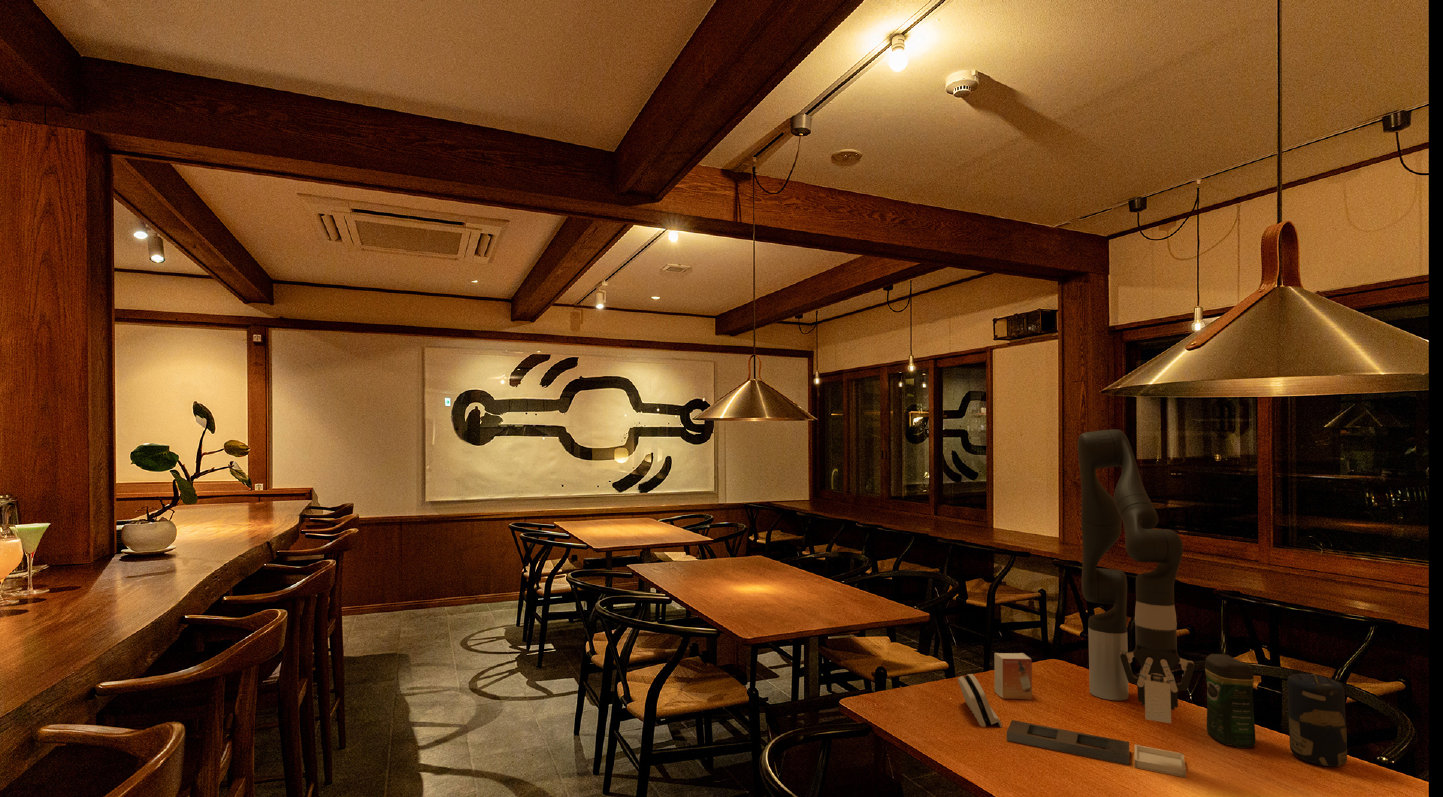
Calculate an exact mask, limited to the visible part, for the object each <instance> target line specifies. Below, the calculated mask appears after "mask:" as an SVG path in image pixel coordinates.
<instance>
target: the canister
mask: <svg viewBox="0 0 1443 797" xmlns="http://www.w3.org/2000/svg"><path fill="white" fill-rule="evenodd" d="M1286 681H1287V704H1288V705H1287V707H1288V731H1289V748H1290V752H1291V753H1292V754H1293V755H1294V756H1295V757H1296V758H1299V759H1300V760H1303V761H1305V762H1307V763H1312V764H1315V765H1319V766H1320V765H1321V766H1325V767H1326V766H1327V767H1340V766H1345V765H1346V763H1347V762H1348V747H1347V746H1348V738H1347V736H1348V734H1347V722H1346V721H1347V720H1346V719H1347V718H1346V701H1345V698H1346V697H1345V687H1344V686H1343V684H1342V683H1340V682H1339V681H1337V680H1334V679H1332V678H1329V677H1325V676H1321V675H1317V674H1315V673H1311V674H1309V673H1293V674H1291V675H1288V677H1287V680H1286Z"/></svg>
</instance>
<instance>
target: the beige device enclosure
mask: <svg viewBox="0 0 1443 797" xmlns="http://www.w3.org/2000/svg"><path fill="white" fill-rule="evenodd" d="M957 681H958V685H959V688H960V690H961V693H962V696H963V698H964V702H965V704H966V705H967V707H968V708H969V710H970V712H971V711H972V712H971V714H972V715H973V714H974V715H973V716H974V718H975V720H976V719H977V720H976V721H977V723H978V724H979V727H982V728H985V727H987V722H988V724H990V725H991V726H992V725H994V724H998V726H999V728H1001V727H1002V728H1003V724H1002V722H1001V719H1000V718H999V717H998V715H997V714H996V712H995V711H994V710H993V708H992V707H991V705H990V704H989V701H988V698H987V695H986V693H985V691H984V689H983V688H982V685H981V684H980V682H979V680H978V679H977V677H976V676H975V675H974V674H973V673H968V674H967V673H966V675H965V676H963V675H961V676H960V677H958V678H957Z"/></svg>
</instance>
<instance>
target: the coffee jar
mask: <svg viewBox="0 0 1443 797" xmlns="http://www.w3.org/2000/svg"><path fill="white" fill-rule="evenodd" d="M1204 671H1205V676H1206V677H1205V678H1206V698H1207V699H1206V702H1207V703H1206V731H1207V734H1209V736H1210V737H1212V738H1214V740H1216V741H1218V742H1220V743H1221V744H1223V745H1228V746H1232V747H1236V748H1239V749H1240V748H1241V749H1243V748H1244V749H1246V748H1251V747H1255V745H1256V744H1257V740H1256V739H1257V738H1256V726H1255V714H1254V713H1255V712H1254V695H1253V691H1254V690H1253V689H1254V684H1255V683H1254V682H1255V678H1254V672H1253V671H1254V669H1253V667H1252V666H1251V665H1249V664H1248V663H1245V662H1243V661H1241V660H1239V659H1236V658H1235V657H1232V656H1230V655H1229V654H1224V653H1222V654H1221V653H1210V654H1209V655H1207V656H1206V658H1205V664H1204Z"/></svg>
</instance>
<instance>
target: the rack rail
mask: <svg viewBox="0 0 1443 797" xmlns="http://www.w3.org/2000/svg"><path fill="white" fill-rule="evenodd" d="M1044 736H1045V737H1044ZM1049 737H1050V738H1049ZM1006 742H1011V743H1017V744H1020V745H1021V744H1023V745H1026V746H1031V747H1036V748H1042V749H1046V750H1050V751H1051V750H1052V751H1056V752H1061V753H1065V754H1070V755H1071V754H1072V755H1077V756H1081V757H1085V758H1090V759H1095V760H1100V761H1105V762H1111V763H1116V764H1120V765H1125V766H1130V742H1129V741H1127V740H1121V739H1115V738H1111V737H1105V736H1100V735H1095V734H1094V735H1093V734H1089V733H1084V732H1080V731H1079V732H1078V731H1072V730H1067V729H1063V728H1057V727H1052V726H1048V725H1047V726H1046V725H1041V724H1037V723H1036V724H1034V723H1030V722H1025V721H1020V720H1015V719H1011V721H1010V723H1009V726H1008V728H1007V729H1006Z"/></svg>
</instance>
